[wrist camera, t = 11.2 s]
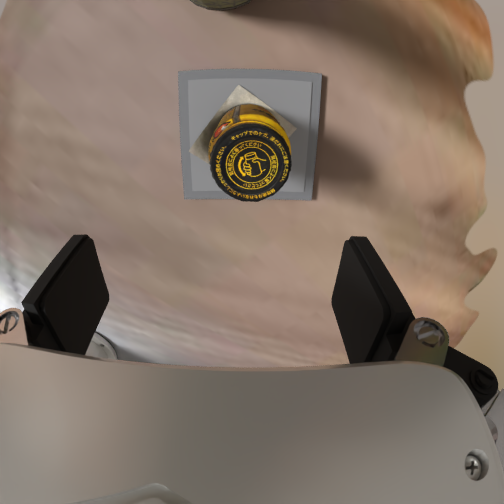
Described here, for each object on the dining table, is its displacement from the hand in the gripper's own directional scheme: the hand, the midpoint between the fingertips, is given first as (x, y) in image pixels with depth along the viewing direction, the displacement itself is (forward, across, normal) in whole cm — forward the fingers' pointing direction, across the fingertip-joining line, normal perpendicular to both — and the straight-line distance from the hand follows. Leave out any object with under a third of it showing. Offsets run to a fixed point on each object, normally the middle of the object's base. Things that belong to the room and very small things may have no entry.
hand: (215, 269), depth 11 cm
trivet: (+22, -2, -1) cm, 22 cm away
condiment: (+22, -1, 0) cm, 22 cm away
